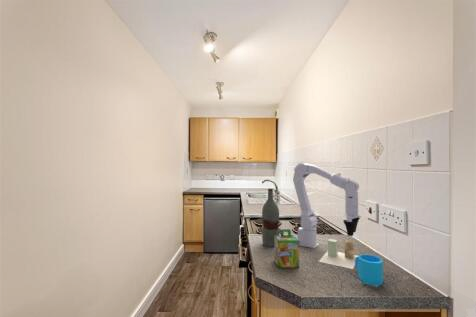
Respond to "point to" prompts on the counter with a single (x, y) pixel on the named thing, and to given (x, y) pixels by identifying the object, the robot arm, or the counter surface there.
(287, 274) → the counter surface
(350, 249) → the oak block
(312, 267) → the counter surface
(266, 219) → the bottle
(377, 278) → the mug
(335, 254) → the sage block
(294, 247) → the chalk box
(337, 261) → the mat
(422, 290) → the counter surface
